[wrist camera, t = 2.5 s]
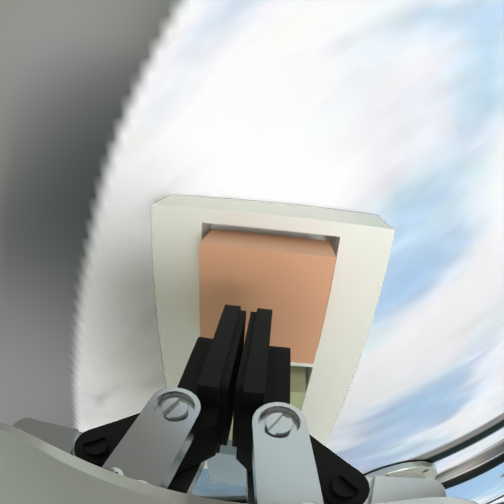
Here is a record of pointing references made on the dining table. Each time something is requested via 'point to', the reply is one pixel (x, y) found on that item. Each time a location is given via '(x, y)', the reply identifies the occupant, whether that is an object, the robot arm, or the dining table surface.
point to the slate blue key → (226, 467)
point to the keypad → (280, 224)
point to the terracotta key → (267, 285)
